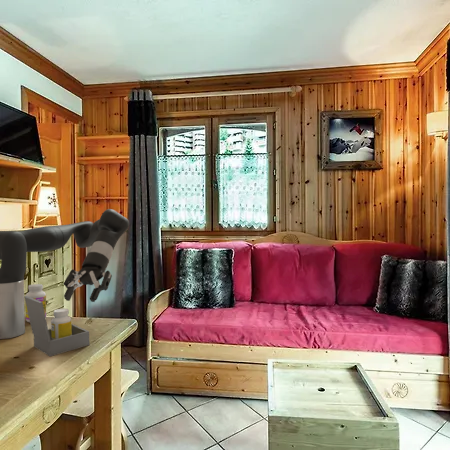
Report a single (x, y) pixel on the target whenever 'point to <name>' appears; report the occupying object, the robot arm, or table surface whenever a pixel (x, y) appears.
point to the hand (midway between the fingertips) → (79, 300)
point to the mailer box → (44, 334)
